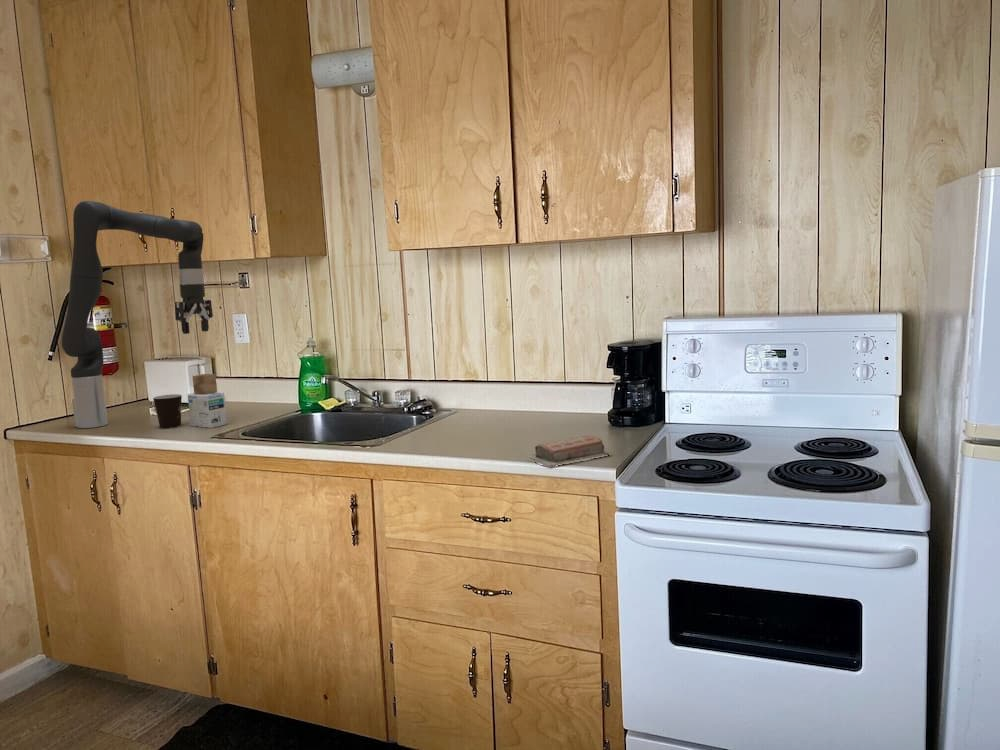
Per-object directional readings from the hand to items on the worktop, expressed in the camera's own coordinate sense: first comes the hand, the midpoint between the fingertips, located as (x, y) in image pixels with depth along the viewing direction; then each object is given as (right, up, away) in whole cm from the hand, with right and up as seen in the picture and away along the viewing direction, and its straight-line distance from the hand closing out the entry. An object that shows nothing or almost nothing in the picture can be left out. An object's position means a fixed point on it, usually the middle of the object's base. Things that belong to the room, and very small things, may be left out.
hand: (195, 332), depth 252 cm
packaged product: (+117, -35, -65) cm, 138 cm away
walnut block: (+4, -20, -2) cm, 20 cm away
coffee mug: (-8, -31, +2) cm, 32 cm away
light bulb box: (+4, -31, 0) cm, 31 cm away
